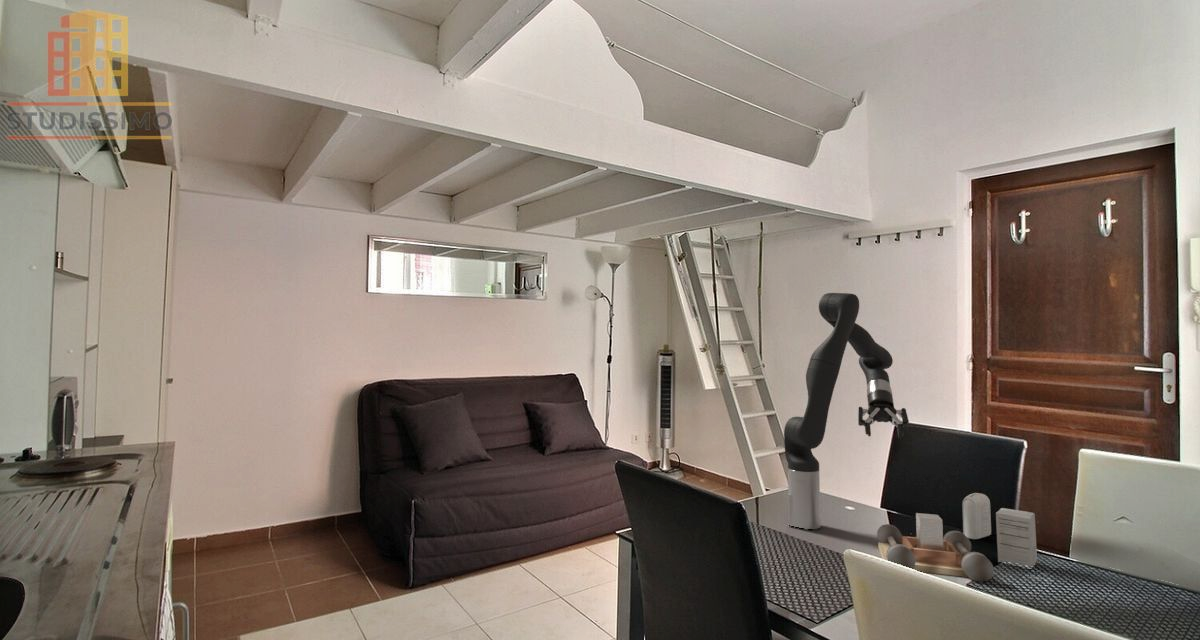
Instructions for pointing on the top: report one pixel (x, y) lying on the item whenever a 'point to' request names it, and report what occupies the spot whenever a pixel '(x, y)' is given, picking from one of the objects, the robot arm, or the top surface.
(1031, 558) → the supplement box
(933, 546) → the beige rectangular block
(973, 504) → the arched gray pillar
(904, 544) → the chassis
